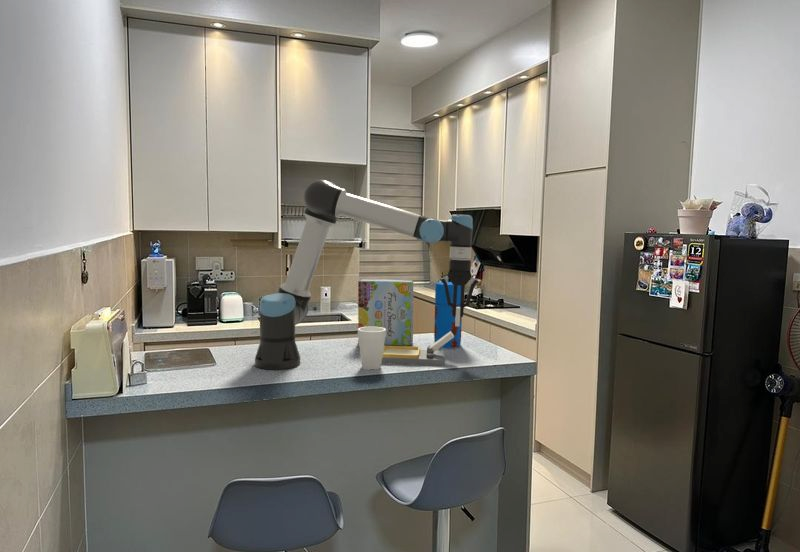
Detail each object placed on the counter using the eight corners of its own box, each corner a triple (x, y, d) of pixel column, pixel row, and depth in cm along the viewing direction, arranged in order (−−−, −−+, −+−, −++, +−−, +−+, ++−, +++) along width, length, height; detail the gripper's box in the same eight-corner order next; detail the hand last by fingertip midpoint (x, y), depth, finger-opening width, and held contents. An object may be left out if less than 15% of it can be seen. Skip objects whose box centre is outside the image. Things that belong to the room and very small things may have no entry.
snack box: (413, 342, 222) (414, 279, 219) (410, 346, 213) (412, 282, 210) (361, 339, 225) (362, 278, 222) (357, 344, 216) (357, 280, 214)
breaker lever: (425, 351, 190) (450, 332, 189) (425, 348, 195) (450, 330, 194) (429, 356, 190) (454, 338, 189) (429, 353, 195) (454, 335, 194)
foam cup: (381, 371, 176) (382, 332, 175) (354, 369, 178) (354, 331, 177) (387, 364, 185) (388, 327, 184) (361, 362, 187) (362, 325, 186)
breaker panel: (369, 362, 187) (369, 353, 187) (374, 353, 201) (374, 344, 201) (444, 365, 185) (444, 356, 185) (443, 355, 199) (444, 347, 199)
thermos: (430, 342, 221) (431, 282, 218) (454, 341, 224) (456, 281, 221) (440, 348, 210) (441, 285, 208) (465, 347, 213) (467, 284, 211)
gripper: (441, 259, 185) (438, 326, 187) (479, 260, 184) (476, 328, 187) (441, 257, 193) (438, 322, 195) (478, 259, 192) (475, 324, 194)
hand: (457, 325), depth 191 cm, fingers closed
